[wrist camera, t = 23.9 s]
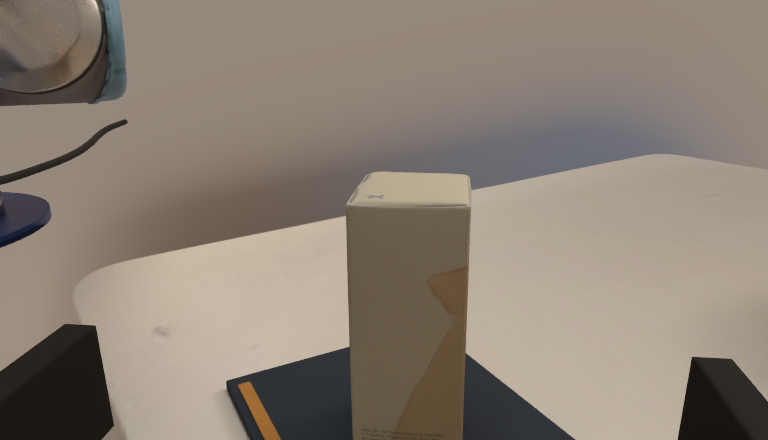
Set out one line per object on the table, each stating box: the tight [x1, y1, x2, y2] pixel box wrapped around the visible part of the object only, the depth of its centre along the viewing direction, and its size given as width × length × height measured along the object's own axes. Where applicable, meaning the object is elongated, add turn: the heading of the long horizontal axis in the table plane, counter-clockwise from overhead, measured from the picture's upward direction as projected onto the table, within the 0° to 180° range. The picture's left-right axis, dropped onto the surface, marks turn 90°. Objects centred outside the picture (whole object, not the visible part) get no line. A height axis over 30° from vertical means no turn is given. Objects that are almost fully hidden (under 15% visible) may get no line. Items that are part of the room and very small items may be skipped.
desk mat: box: [226, 347, 575, 440], centre depth 25 cm, size 16×12×1 cm
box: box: [346, 172, 472, 440], centre depth 23 cm, size 5×4×11 cm
